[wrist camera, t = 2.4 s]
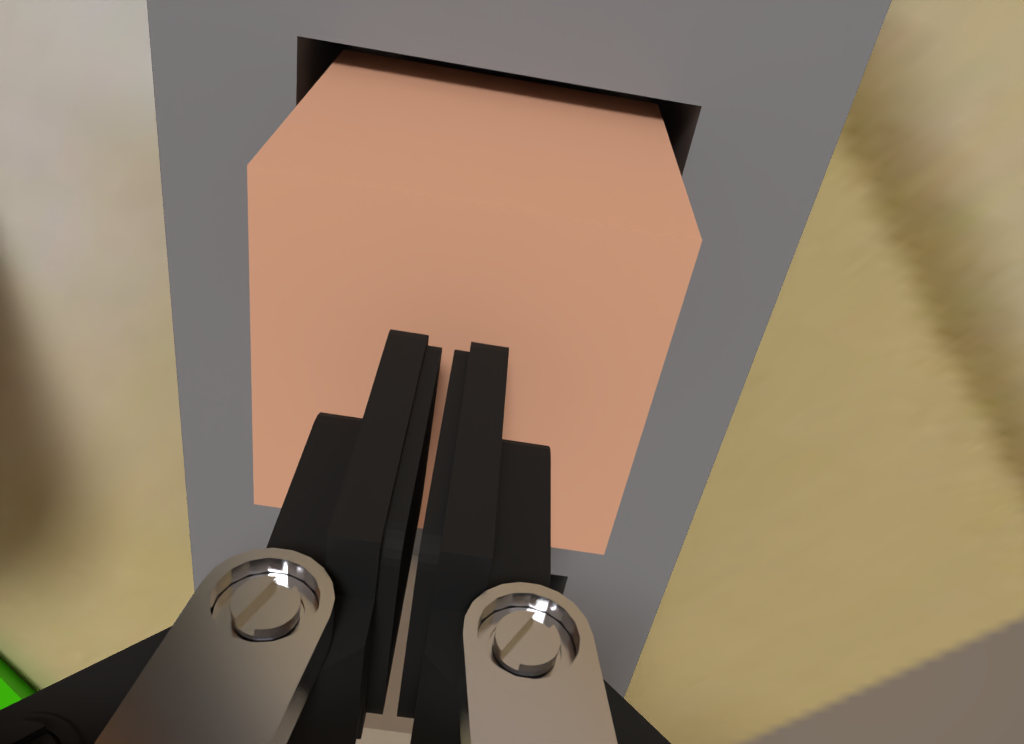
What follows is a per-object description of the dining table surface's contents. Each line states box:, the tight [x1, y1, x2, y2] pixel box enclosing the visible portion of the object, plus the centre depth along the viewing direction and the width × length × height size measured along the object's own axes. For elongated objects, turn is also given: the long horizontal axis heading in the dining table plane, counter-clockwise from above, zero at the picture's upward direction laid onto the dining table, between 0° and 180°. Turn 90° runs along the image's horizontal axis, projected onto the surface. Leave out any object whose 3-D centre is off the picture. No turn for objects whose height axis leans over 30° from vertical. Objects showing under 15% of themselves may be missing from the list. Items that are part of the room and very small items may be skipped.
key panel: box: [147, 0, 892, 698], centre depth 22 cm, size 12×24×6 cm, turn 171°
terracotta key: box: [247, 50, 702, 555], centre depth 15 cm, size 6×6×6 cm
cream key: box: [356, 554, 419, 744], centre depth 22 cm, size 6×6×6 cm
